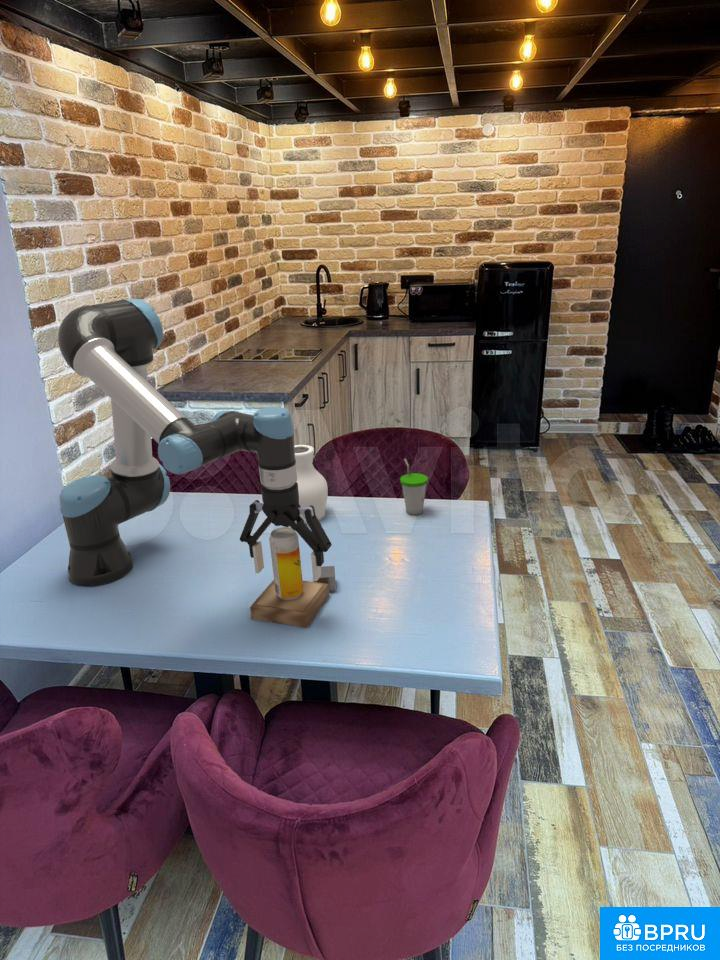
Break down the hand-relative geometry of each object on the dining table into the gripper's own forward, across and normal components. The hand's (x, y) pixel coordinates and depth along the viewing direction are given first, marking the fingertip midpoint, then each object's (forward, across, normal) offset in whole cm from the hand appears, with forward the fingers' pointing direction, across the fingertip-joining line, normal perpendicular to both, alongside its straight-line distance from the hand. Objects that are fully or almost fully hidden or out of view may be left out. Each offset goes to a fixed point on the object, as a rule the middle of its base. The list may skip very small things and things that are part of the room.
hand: (288, 574), depth 148 cm
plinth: (+8, 0, 0) cm, 8 cm away
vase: (+8, -16, +45) cm, 49 cm away
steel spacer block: (+8, +4, +10) cm, 14 cm away
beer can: (+5, 0, 0) cm, 5 cm away
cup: (+8, +14, +54) cm, 56 cm away
